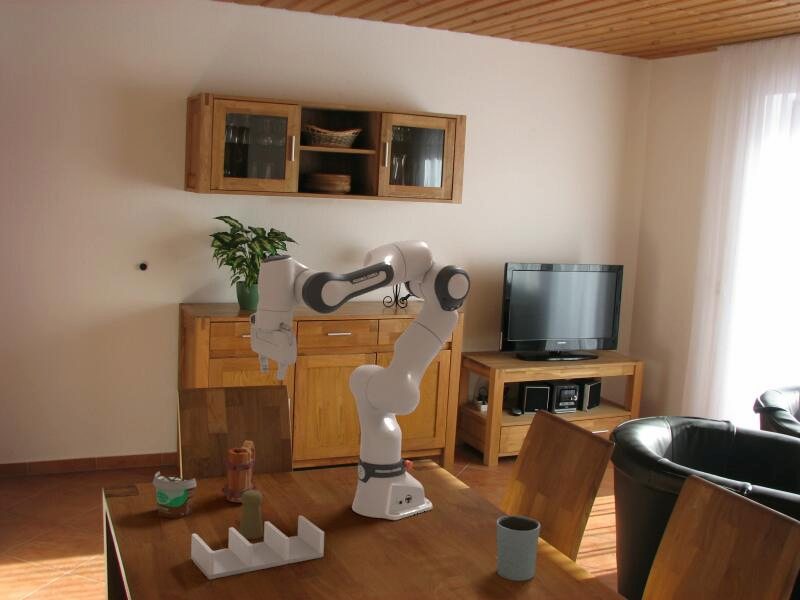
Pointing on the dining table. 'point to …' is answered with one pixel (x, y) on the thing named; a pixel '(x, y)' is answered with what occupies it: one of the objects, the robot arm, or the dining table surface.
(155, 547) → the dining table surface
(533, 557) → the grey cup
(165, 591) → the dining table surface
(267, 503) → the dining table surface
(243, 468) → the mug
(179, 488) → the food container
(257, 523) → the cork
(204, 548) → the slot rack
